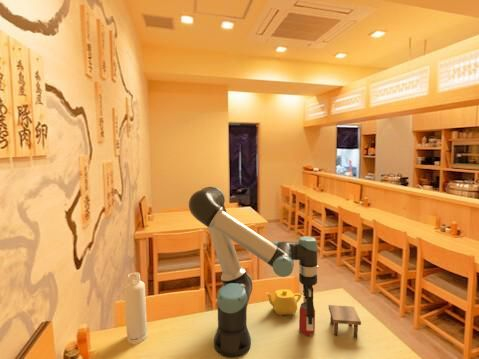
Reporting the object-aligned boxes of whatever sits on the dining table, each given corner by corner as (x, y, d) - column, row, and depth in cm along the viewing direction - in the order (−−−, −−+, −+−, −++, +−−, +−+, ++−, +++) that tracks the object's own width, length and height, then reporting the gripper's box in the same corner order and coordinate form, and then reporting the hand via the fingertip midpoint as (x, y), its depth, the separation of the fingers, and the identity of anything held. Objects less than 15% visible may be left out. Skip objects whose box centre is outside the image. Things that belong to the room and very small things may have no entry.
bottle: (142, 328, 124) (139, 268, 121) (150, 337, 118) (147, 274, 115) (124, 337, 118) (120, 274, 115) (132, 346, 112) (128, 281, 109)
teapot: (267, 319, 130) (267, 297, 129) (263, 305, 141) (263, 285, 140) (304, 316, 131) (304, 295, 130) (297, 303, 142) (298, 284, 141)
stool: (332, 337, 117) (333, 319, 116) (328, 321, 128) (328, 304, 127) (360, 339, 115) (360, 321, 115) (353, 323, 126) (353, 306, 125)
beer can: (315, 337, 117) (315, 310, 116) (299, 335, 118) (299, 309, 117) (314, 327, 123) (314, 302, 122) (299, 325, 125) (299, 300, 123)
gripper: (321, 288, 105) (321, 340, 107) (313, 261, 130) (313, 304, 132) (301, 287, 106) (301, 338, 108) (297, 261, 131) (297, 303, 133)
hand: (308, 320), depth 120 cm, fingers open, 13 cm apart
